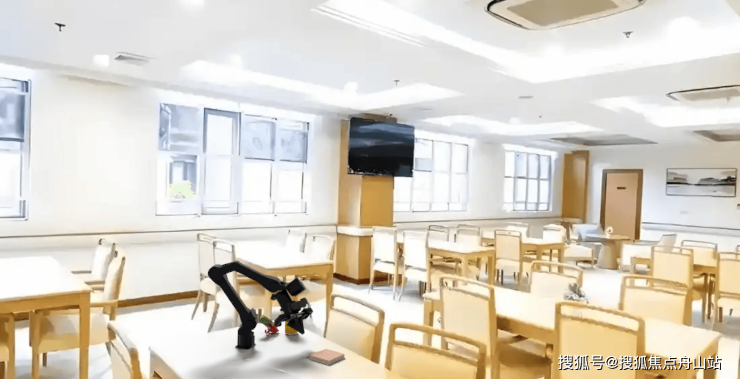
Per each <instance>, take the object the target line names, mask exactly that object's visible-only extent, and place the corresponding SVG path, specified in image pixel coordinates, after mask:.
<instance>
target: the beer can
mask: <svg viewBox="0 0 740 379" xmlns="http://www.w3.org/2000/svg"><path fill="white" fill-rule="evenodd" d="M287 324H288V323H287V321H284V333H285V334H286V335H287V334H288V335H287V336H295V335H297V334H298V332H297V331H296V330H294V329H293V328H291V327H289V326H286V325H287Z"/></svg>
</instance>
